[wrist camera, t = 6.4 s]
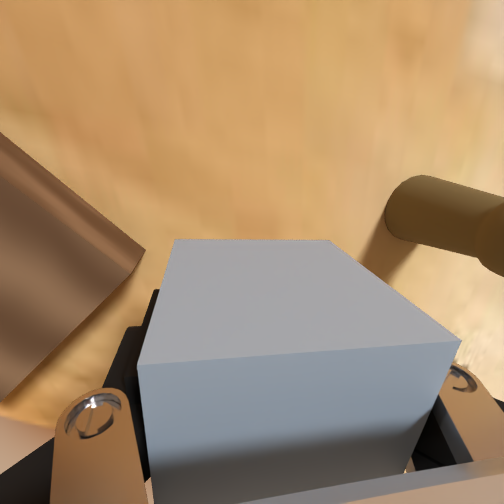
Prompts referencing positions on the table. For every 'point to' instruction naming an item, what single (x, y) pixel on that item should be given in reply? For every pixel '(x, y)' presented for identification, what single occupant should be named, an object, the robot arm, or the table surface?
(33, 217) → the walnut block
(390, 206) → the cork
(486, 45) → the table surface
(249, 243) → the blue cube
